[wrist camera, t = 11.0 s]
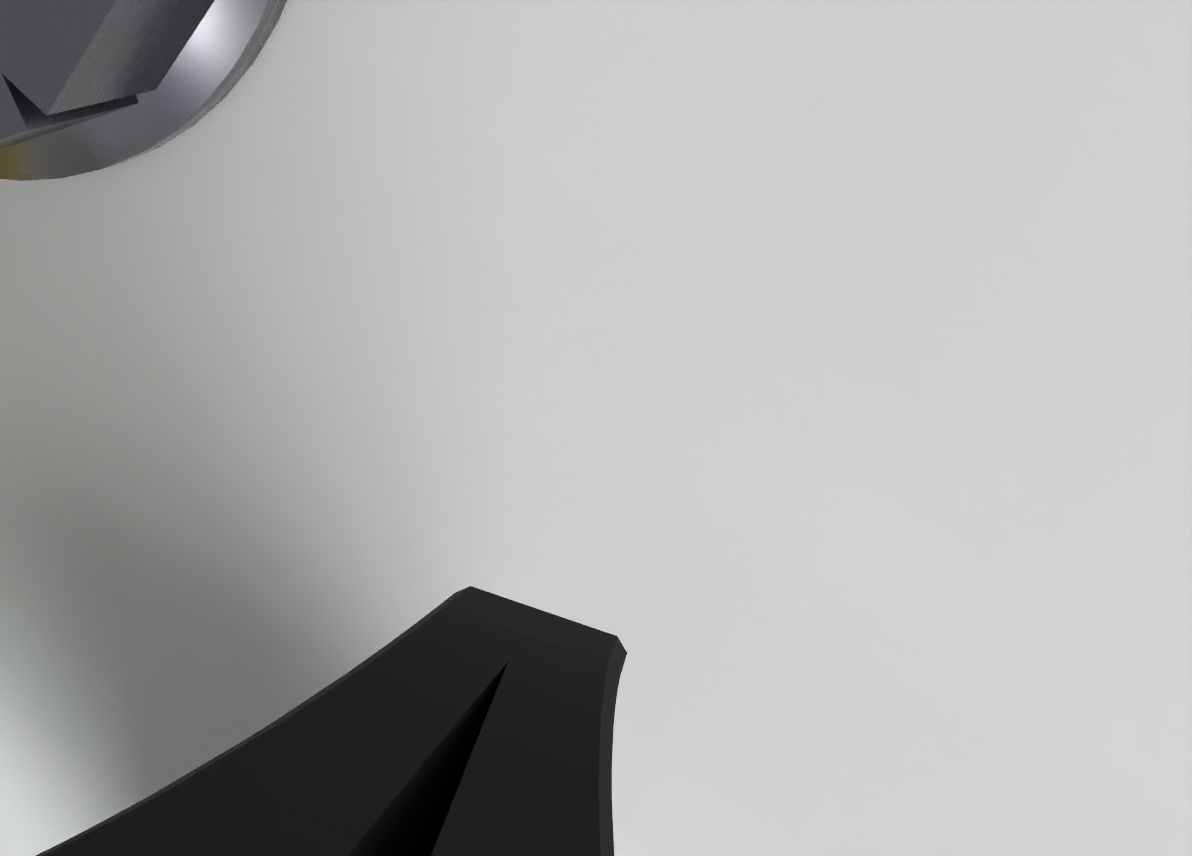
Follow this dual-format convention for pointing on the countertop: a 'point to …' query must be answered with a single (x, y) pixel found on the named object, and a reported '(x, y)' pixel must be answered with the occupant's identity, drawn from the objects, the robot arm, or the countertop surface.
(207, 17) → the toothed ring bowl
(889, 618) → the countertop surface
